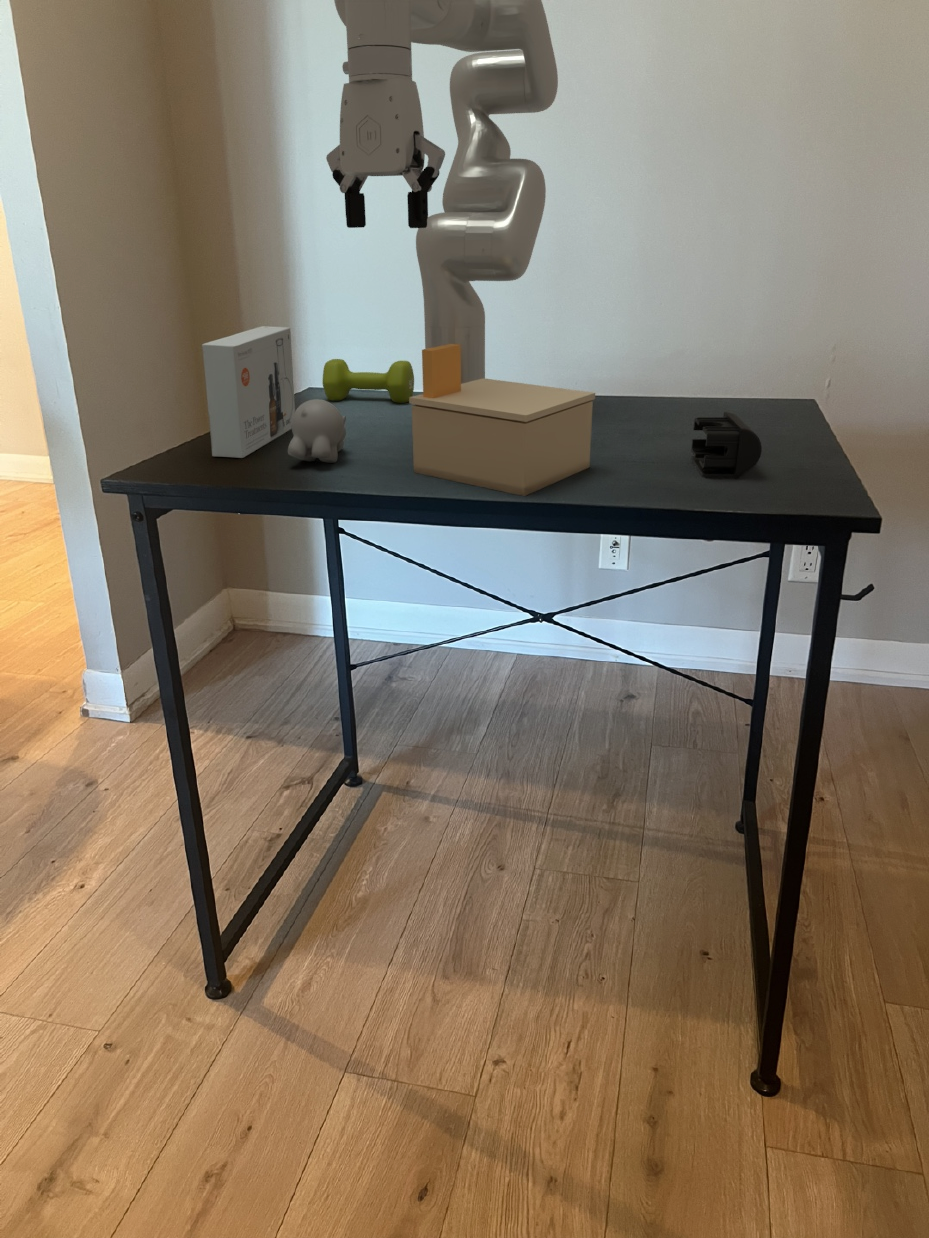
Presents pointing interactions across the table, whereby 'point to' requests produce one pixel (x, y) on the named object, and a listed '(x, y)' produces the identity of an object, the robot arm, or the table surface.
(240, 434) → the skincare box
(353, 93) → the robot arm
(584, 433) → the carton
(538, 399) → the flap
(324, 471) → the table surface
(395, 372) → the dumbbell
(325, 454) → the white animal toy
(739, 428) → the end cap
